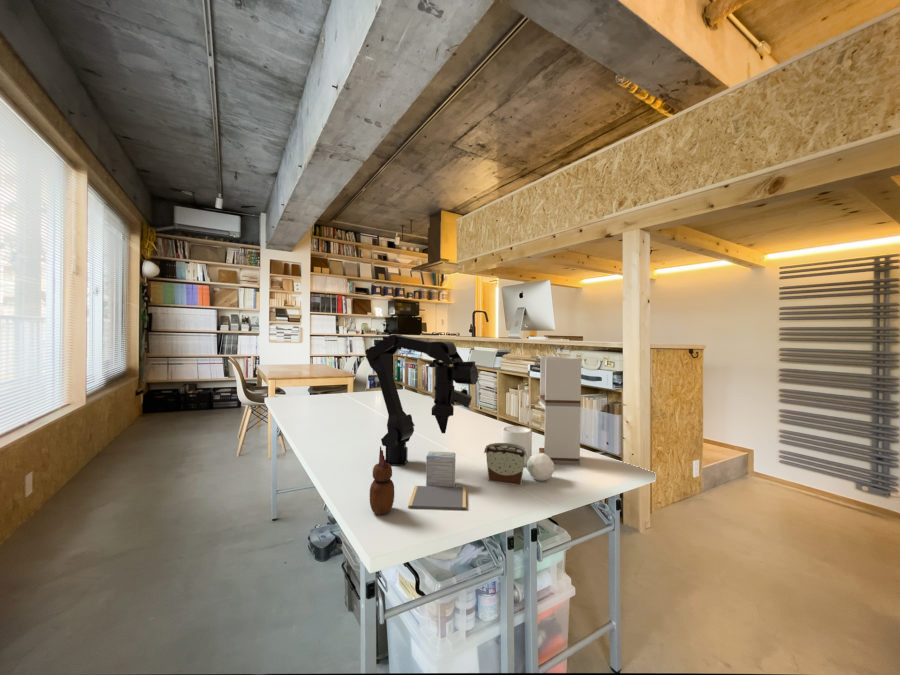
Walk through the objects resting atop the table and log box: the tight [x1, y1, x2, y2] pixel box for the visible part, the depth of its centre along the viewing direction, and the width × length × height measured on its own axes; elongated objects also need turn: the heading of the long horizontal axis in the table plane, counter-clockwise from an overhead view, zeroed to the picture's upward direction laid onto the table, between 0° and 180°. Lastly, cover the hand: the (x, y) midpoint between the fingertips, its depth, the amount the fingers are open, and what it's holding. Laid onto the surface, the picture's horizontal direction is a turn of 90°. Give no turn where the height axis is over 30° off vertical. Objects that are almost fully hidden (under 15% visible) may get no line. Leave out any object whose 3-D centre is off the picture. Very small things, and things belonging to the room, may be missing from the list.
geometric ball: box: [526, 452, 555, 481], centre depth 111 cm, size 8×8×8 cm
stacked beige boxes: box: [538, 355, 582, 466], centre depth 129 cm, size 11×11×35 cm
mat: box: [407, 485, 467, 511], centre depth 97 cm, size 14×12×1 cm
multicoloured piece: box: [483, 442, 527, 486], centre depth 110 cm, size 12×6×10 cm, turn 71°
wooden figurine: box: [369, 446, 395, 516], centre depth 89 cm, size 7×6×15 cm
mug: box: [500, 425, 533, 467], centre depth 128 cm, size 14×10×11 cm
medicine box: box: [425, 451, 456, 487], centre depth 106 cm, size 8×4×9 cm, turn 84°
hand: (443, 433), depth 115 cm, fingers closed
